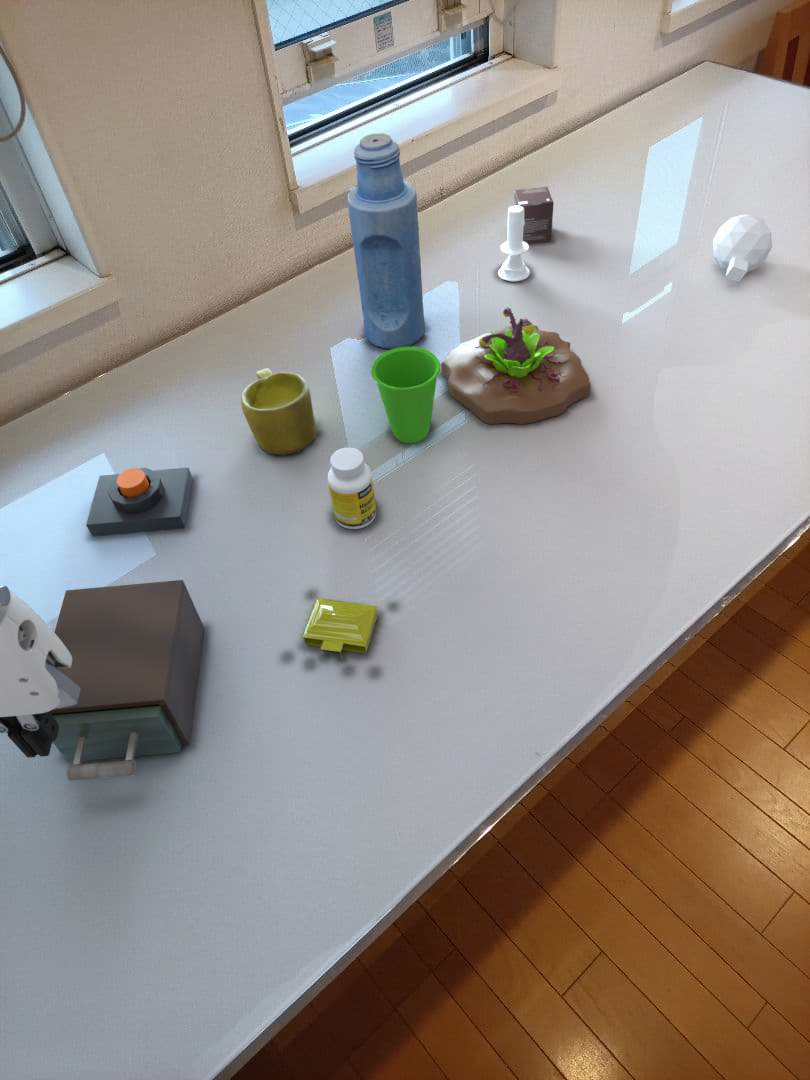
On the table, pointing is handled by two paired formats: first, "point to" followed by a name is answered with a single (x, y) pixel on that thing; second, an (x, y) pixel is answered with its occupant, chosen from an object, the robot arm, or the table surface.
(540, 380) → the plant
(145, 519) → the control block
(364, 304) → the bottle
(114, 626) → the cabinet
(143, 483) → the button
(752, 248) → the white faceted rounded piece
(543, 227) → the box
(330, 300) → the table surface
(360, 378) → the table surface
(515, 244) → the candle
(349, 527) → the supplement bottle
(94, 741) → the drawer
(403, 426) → the cup
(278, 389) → the mug
